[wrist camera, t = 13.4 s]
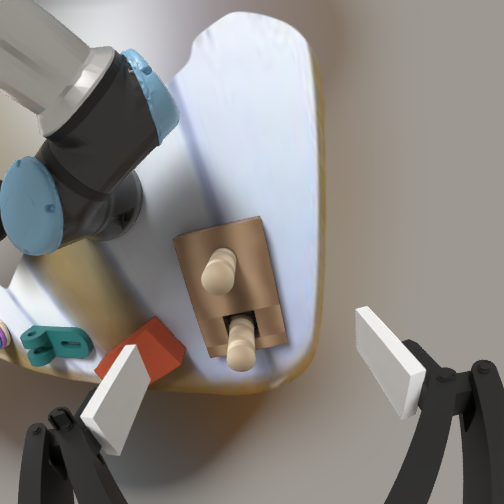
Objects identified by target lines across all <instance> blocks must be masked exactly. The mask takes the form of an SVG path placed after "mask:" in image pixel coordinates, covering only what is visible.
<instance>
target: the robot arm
mask: <svg viewBox="0 0 504 504" xmlns="http://www.w3.org/2000/svg"><path fill="white" fill-rule="evenodd" d="M0 92H2V93H3V94H5V95H7V96H8V97H10V98H11V99H13V100H14V101H16V102H18V103H20V104H21V105H22V106H24V107H26V108H27V109H29V110H30V111H32V112H33V113H35V114H36V115H37V118H38V125H39V131H40V134H41V135H42V136H43V137H45V138H47V139H46V141H45V142H44V143H43V145H42V146H41V148H40V149H39V151H38V152H37V154H36V155H35V156H34V157H30V156H27V157H24V158H22V159H20V160H17V161H16V162H14V163H13V164H12V165H11V166H10V167H9V169H8V170H7V172H6V174H5V176H4V179H3V182H2V185H1V190H0V210H1V219H2V223H3V226H4V229H5V231H6V233H7V235H8V237H9V239H10V240H11V242H12V243H13V244H14V245H15V246H16V248H17V249H19V250H20V251H21V252H23V253H25V254H27V255H33V256H37V255H42V254H49V253H52V252H54V251H56V250H57V249H59V248H62V247H64V246H67V245H69V244H72V243H74V242H77V241H80V240H82V239H85V238H87V239H91V240H95V241H108V240H112V239H114V238H117V237H119V236H121V235H123V234H124V233H125V232H127V231H128V230H129V229H130V228H131V227H132V225H133V224H134V223H135V221H136V219H137V217H138V215H139V212H140V208H141V203H142V190H141V184H140V181H139V178H138V176H137V174H136V172H135V171H134V169H135V168H136V167H137V166H138V165H139V164H140V163H141V162H142V161H143V160H144V158H145V157H146V156H147V155H148V154H149V153H150V152H151V151H152V150H153V149H154V148H155V147H156V146H160V145H161V143H162V141H163V139H164V138H165V137H166V136H167V135H168V134H169V133H170V132H171V131H172V130H173V129H174V128H175V127H176V126H177V124H178V122H179V118H180V111H179V108H178V106H177V104H176V102H175V100H174V98H173V97H172V95H171V94H170V92H169V91H168V89H167V88H166V86H165V85H164V83H163V82H162V81H161V79H160V78H159V77H158V75H157V74H156V73H155V72H154V71H152V69H151V67H150V66H149V65H148V63H147V62H146V61H145V60H144V59H143V58H142V56H141V55H140V54H139V53H138V52H136V51H135V50H133V49H128V50H126V51H123V52H122V53H121V54H119V53H118V52H117V51H116V50H114V48H112V47H111V46H104V47H96V48H90V47H89V46H88V45H87V44H86V43H84V42H83V41H82V40H81V39H80V38H78V37H77V36H76V35H75V34H74V33H73V32H72V31H71V30H69V29H68V28H67V27H66V26H65V25H63V24H62V23H61V22H60V21H59V20H57V19H56V18H55V17H54V16H53V15H51V14H50V13H49V12H48V11H47V10H45V9H44V8H43V7H42V6H40V5H39V4H38V3H37V2H35V1H34V0H0ZM355 310H356V311H355V312H356V349H357V350H358V352H359V353H360V355H361V356H362V358H363V359H364V361H365V363H366V364H367V365H368V367H369V369H370V370H371V372H372V373H373V375H374V377H375V378H376V380H377V381H378V383H379V385H380V386H381V387H382V389H383V391H384V393H385V394H386V396H387V397H388V399H389V401H390V402H391V404H392V405H393V407H394V409H395V410H396V412H397V414H398V415H399V417H400V418H401V420H402V419H405V418H407V417H410V416H412V415H415V414H416V411H417V407H418V406H419V408H420V409H421V411H422V412H421V415H420V418H419V421H418V424H417V427H416V430H415V433H414V436H413V439H412V442H411V444H410V447H409V449H408V452H407V455H406V457H405V460H404V462H403V464H402V467H401V469H400V472H399V474H398V476H397V478H396V481H395V482H394V485H393V487H392V489H391V491H390V493H389V495H388V497H387V499H386V501H385V503H384V504H427V503H428V500H429V498H430V495H431V492H432V489H433V487H434V484H435V481H436V478H437V475H438V471H439V468H440V465H441V462H442V458H443V455H444V451H445V447H446V443H447V439H448V434H449V430H450V426H451V421H452V416H455V415H459V419H460V428H461V438H462V452H463V504H504V388H503V385H502V382H501V379H500V376H499V373H498V371H497V368H496V366H495V365H494V364H493V363H492V362H491V361H488V360H479V361H476V362H475V363H474V364H473V366H472V368H471V371H467V372H462V373H456V371H454V370H453V369H450V368H441V367H440V366H439V365H438V364H437V363H436V362H435V361H434V360H433V359H432V358H431V357H430V356H429V355H428V354H427V353H426V352H425V351H424V349H422V347H420V345H419V344H418V343H416V342H414V341H412V340H409V339H408V340H405V341H403V342H400V340H399V339H398V338H397V337H396V336H395V335H394V334H393V333H392V332H391V331H390V330H389V328H388V327H387V326H386V325H385V324H384V323H383V322H382V321H381V320H380V319H379V318H378V317H377V316H376V315H375V314H374V313H373V312H372V311H371V310H370V308H368V306H366V307H362V308H358V309H355ZM150 380H151V379H150V377H149V374H148V372H147V370H146V368H145V365H144V363H143V360H142V358H141V356H140V353H139V351H138V348H137V346H136V345H125V347H124V348H123V350H122V351H121V353H120V354H119V356H118V357H117V359H116V360H115V362H114V363H113V365H112V366H111V368H110V370H109V371H108V373H107V374H106V376H105V377H104V379H103V380H102V382H101V384H100V385H99V387H95V388H94V389H93V390H91V391H90V392H89V394H88V395H87V397H86V398H85V400H84V401H83V403H82V405H81V406H80V408H79V409H78V411H77V412H76V414H75V415H74V417H73V416H72V414H71V412H70V411H69V409H68V408H66V407H58V408H56V409H54V410H52V411H51V412H50V414H49V415H48V420H49V421H50V423H51V424H52V426H53V427H54V429H50V430H48V429H47V428H46V426H45V425H44V424H43V423H35V424H32V425H31V426H30V427H29V428H28V430H27V433H26V439H25V444H24V450H23V456H22V463H21V471H20V480H19V492H18V504H74V494H73V490H74V493H75V495H76V498H77V500H78V503H79V504H128V503H127V501H126V500H125V498H124V496H123V495H122V493H121V491H120V489H119V487H118V486H117V484H116V482H115V480H114V478H113V476H112V475H111V473H110V471H109V469H108V467H107V465H106V462H105V461H104V459H103V456H102V455H101V454H100V452H99V451H100V449H101V447H102V448H103V449H104V451H105V452H106V453H107V454H110V455H117V456H120V453H121V451H122V449H123V446H124V443H125V441H126V438H127V436H128V433H129V431H130V428H131V426H132V423H133V421H134V419H135V416H136V414H137V411H138V408H139V406H140V404H141V401H142V399H143V397H144V394H145V392H146V390H147V387H148V385H149V383H150Z"/></svg>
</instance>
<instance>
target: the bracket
mask: <svg viewBox="0 0 504 504" xmlns="http://www.w3.org/2000/svg"><path fill="white" fill-rule="evenodd" d="M20 339H21V341H22V344H23V346H24V348H25V349H31V350H29V352H28V353H27V356H28V358H29V360H30V363H31V365H32V366H35V367H40V366H44V365H46V364H48V363H50V362H51V361H52V360H53V359H54V358H55V357H56V356H61V357H71V358H85V357H87V356H88V354H89V353H90V352H91V351H92V347H93V345H92V341H91V339H90V337H89V336H88V334H87V333H86V332H85V331H83V330H82V329H80V328H76V327H50V326H32V327H31V328H29V329H28V330H27V331H25V332H24V333H23V334H22V335H21V337H20ZM66 341H68V342H79V343H80V344H70V343H67V342H66Z"/></svg>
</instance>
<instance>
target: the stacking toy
mask: <svg viewBox="0 0 504 504" xmlns="http://www.w3.org/2000/svg"><path fill="white" fill-rule="evenodd" d="M10 341H11V339H10V334H9V331H8V329H7V327H6V326H5V324H4V323H3V322H2V321H0V349H3V348H5V346H8V345H9V344H10Z"/></svg>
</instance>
